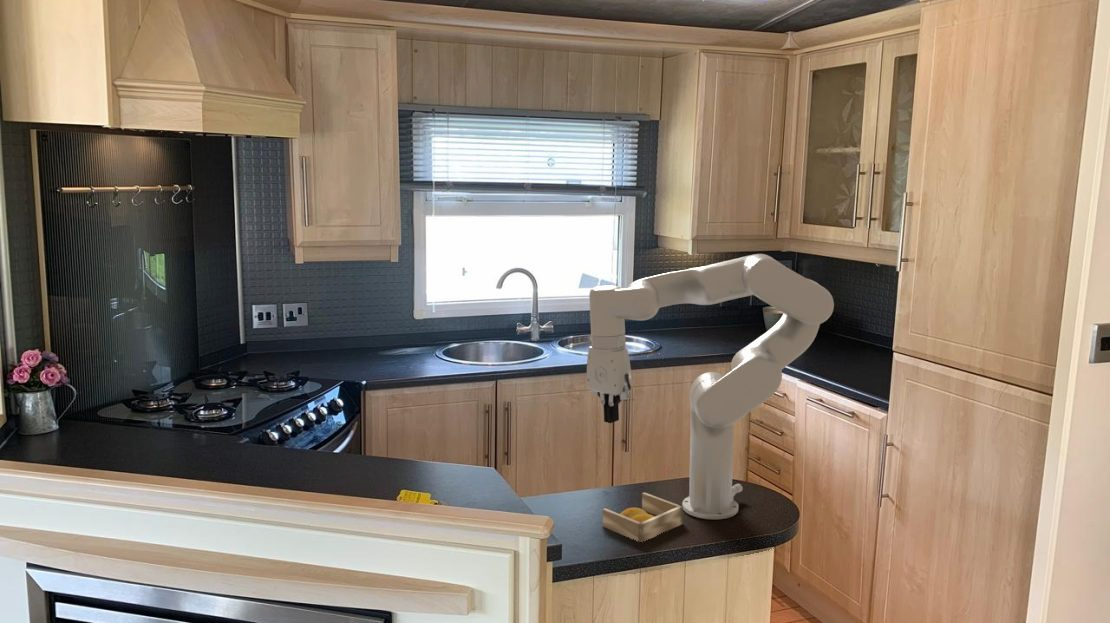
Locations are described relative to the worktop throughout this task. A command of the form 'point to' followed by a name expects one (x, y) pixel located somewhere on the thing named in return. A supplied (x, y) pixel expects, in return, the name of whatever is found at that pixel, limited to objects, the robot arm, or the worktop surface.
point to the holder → (664, 520)
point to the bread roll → (637, 514)
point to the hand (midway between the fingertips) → (611, 421)
